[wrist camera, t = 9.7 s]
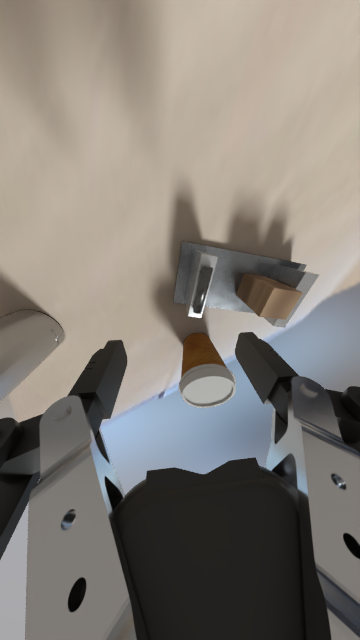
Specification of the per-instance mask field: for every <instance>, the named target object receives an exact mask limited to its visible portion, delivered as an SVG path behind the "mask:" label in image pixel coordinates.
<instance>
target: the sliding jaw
mask: <svg viewBox="0 0 360 640" xmlns="http://www.w3.org/2000/svg"><path fill="white" fill-rule="evenodd" d="M217 259H218V257H217V256H215V255H213V254H210V253H208V252H204V251H199V250H194V255H193V260H192V265H191V270H190V276H189V281H188V286H187V291H186V296H185V304H186V309H187V314H188V316H190V317H198V318H201V317H202V313H203V310H204V306H205V302H206V299H207V295H208V292H209V288H210V284H211V281H212V277H213V274H214V270H215V266H216V263H217Z"/></svg>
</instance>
